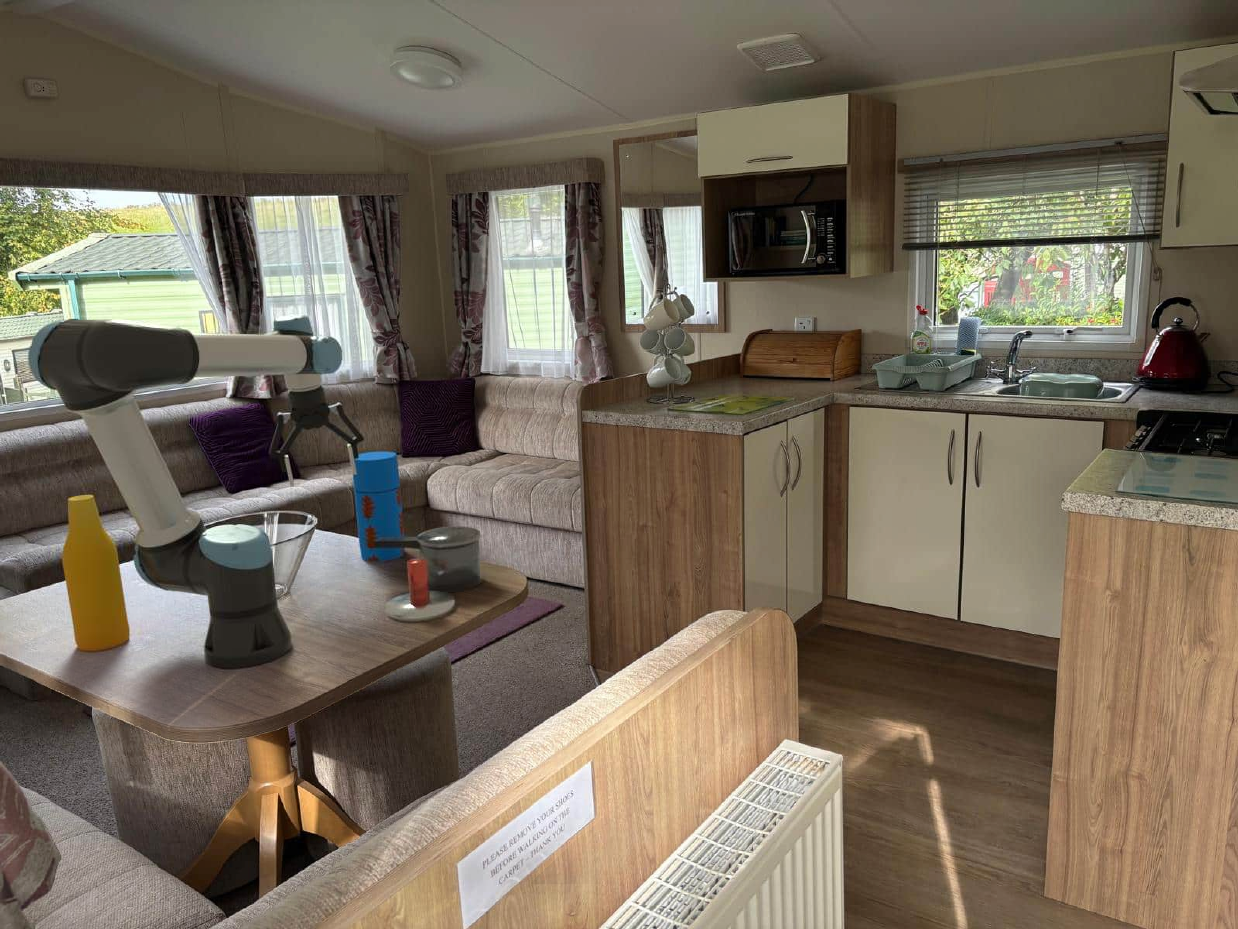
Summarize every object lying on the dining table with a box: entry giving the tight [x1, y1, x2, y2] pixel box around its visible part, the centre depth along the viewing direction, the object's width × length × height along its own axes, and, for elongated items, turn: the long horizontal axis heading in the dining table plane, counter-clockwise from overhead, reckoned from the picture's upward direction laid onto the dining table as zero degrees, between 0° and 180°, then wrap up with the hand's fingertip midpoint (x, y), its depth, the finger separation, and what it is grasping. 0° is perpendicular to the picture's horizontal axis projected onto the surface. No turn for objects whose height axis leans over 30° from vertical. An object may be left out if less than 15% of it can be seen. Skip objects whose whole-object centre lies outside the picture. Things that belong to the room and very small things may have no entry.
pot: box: [374, 525, 483, 593], centre depth 206 cm, size 14×23×11 cm, turn 87°
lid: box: [385, 557, 456, 623], centre depth 190 cm, size 14×14×10 cm
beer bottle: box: [61, 494, 131, 652], centre depth 176 cm, size 9×9×29 cm
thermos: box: [351, 451, 406, 562], centre depth 226 cm, size 11×11×25 cm
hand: (323, 478), depth 208 cm, fingers open, 13 cm apart
